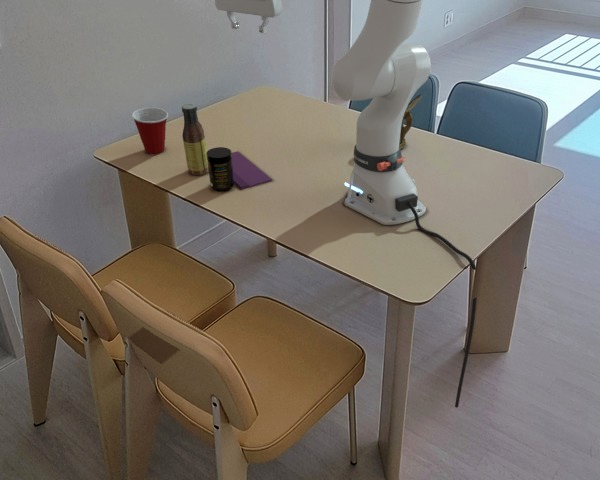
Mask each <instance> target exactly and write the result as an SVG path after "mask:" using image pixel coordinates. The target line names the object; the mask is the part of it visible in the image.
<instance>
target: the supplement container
mask: <svg viewBox="0 0 600 480" xmlns="http://www.w3.org/2000/svg"><path fill="white" fill-rule="evenodd" d="M232 153H233V152H232V150H231V149H230V148H228V147H224V146H219V147H213V148H210V149H207V161H208V170H209V171H208V177H209V186H210V189H212V191H214V192H217V193H224V192H225V193H226V192H228V191H231V190H232V189H233V188H234V186H235V184H234V177H233V166H232Z"/></svg>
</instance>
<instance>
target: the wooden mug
mask: <svg viewBox="0 0 600 480" xmlns="http://www.w3.org/2000/svg"><path fill="white" fill-rule="evenodd" d="M421 100H422V94H420V93H419V94H418V95H417V96H416V97H415V98H413V99H411V100H410V102H409V104H408V106H407V109H406V111H405V113H404V116H403V120H402V125H401V132H400V141H399V147H400V150H401V151H402V150H403V149H404V148H405V147H406V141H407V140H406V138H405V137H406V135H407V133H408V132H409V131H410V130H411V128H412V125H413V115H412V110H413V109H414V108H415V107H416V106H417V104H418V103H419V102H420V101H421ZM404 122H406V125H405V124H404ZM404 125H405V126H404Z"/></svg>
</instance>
